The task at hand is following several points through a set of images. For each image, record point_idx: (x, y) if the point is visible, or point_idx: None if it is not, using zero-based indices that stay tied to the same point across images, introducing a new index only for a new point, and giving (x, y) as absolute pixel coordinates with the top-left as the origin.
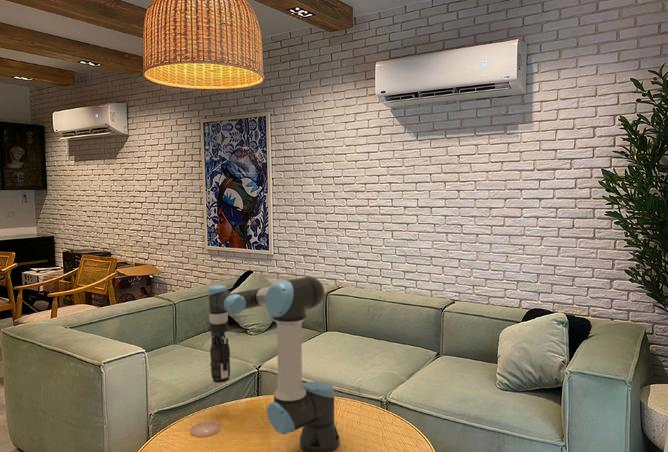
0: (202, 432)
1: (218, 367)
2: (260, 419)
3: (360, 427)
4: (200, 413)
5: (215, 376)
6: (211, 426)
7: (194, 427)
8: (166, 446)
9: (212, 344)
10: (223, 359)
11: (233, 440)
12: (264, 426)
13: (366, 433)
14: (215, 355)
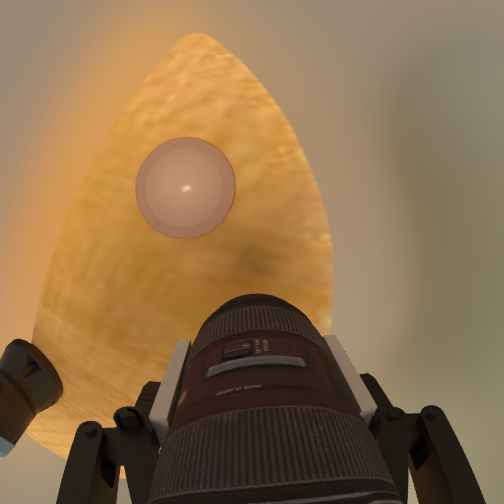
0: (158, 170)
1: (185, 376)
2: (165, 351)
3: (74, 436)
4: (319, 213)
5: (216, 316)
6: (183, 209)
7: (211, 157)
8: (155, 66)
9: (451, 493)
10: (82, 446)
11: (85, 240)
12: (122, 340)
13: (56, 428)
14: (176, 463)
